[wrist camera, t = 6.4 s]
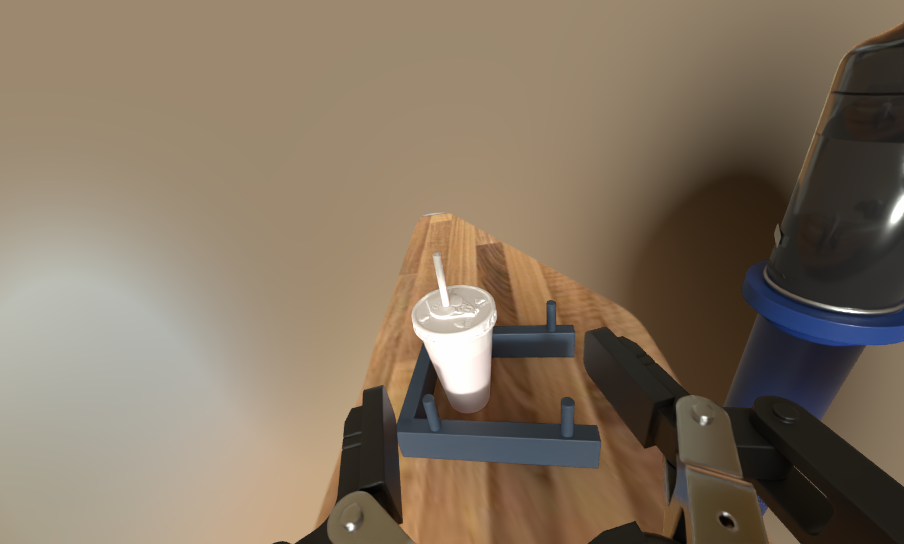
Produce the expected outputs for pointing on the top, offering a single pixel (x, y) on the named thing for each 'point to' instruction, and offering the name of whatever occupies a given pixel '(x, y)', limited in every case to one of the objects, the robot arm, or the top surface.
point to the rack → (499, 439)
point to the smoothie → (458, 339)
